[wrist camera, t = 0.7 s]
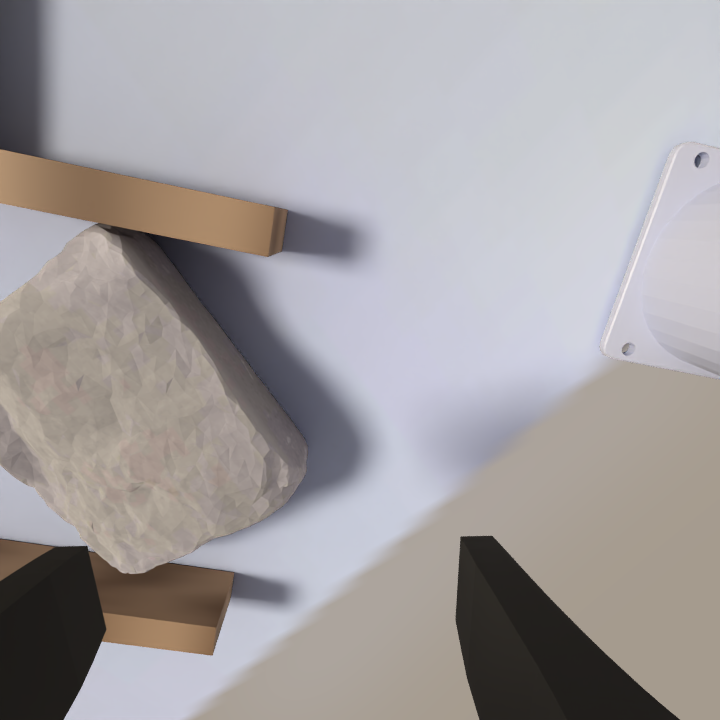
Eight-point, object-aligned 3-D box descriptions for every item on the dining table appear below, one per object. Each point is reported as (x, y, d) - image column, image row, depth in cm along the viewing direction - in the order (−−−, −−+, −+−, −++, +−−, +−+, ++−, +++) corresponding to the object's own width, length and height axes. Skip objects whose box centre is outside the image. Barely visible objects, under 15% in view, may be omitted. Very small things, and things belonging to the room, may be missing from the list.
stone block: (176, 525, 23) (336, 444, 19) (113, 608, 18) (305, 522, 15) (5, 332, 20) (155, 199, 17) (-118, 374, 16) (53, 206, 12)
